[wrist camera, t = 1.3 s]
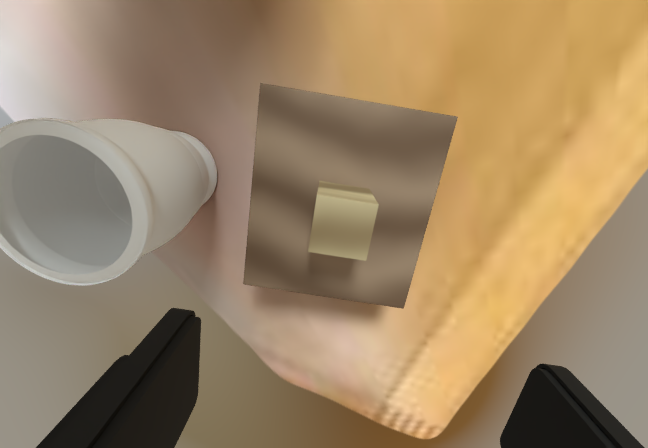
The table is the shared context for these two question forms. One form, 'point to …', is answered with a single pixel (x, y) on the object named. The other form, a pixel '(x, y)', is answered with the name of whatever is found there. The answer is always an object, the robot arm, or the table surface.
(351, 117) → the lid
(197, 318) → the robot arm
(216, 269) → the table surface
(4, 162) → the jar
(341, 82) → the table surface
